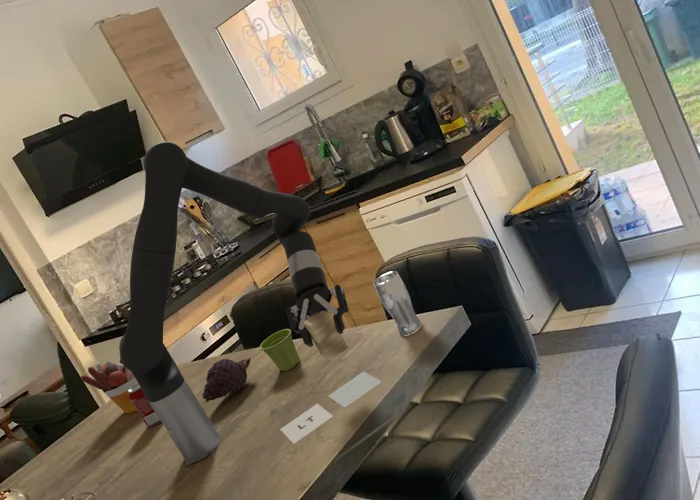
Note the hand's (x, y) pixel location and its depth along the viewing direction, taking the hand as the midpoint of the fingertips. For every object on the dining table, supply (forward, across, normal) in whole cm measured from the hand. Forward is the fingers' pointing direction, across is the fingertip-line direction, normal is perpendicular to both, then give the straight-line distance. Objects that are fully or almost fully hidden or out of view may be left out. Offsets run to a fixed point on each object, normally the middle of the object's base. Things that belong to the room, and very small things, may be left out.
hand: (325, 339), depth 143 cm
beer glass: (-4, +14, +25) cm, 29 cm away
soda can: (-12, -65, +33) cm, 74 cm away
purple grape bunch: (-10, -39, +31) cm, 51 cm away
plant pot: (-12, -22, +33) cm, 41 cm away
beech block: (+2, 0, +4) cm, 5 cm away
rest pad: (+9, 0, +11) cm, 15 cm away
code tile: (+14, -11, +7) cm, 19 cm away
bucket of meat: (-26, -80, +46) cm, 96 cm away
